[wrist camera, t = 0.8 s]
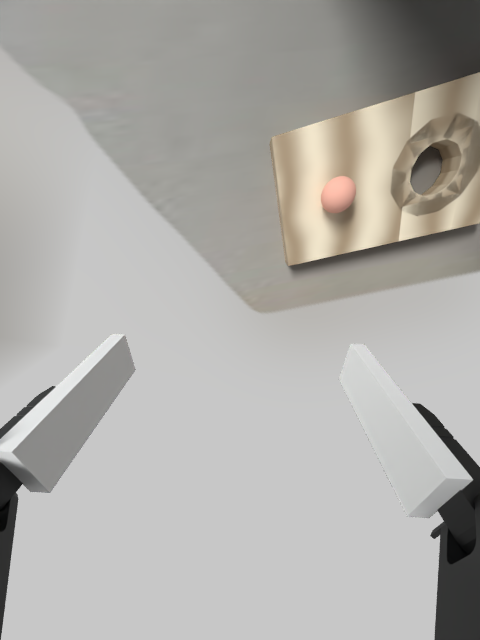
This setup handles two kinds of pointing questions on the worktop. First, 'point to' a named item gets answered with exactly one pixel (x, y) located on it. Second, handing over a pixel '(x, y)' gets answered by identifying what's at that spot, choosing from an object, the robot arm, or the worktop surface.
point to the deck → (380, 172)
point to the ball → (338, 194)
